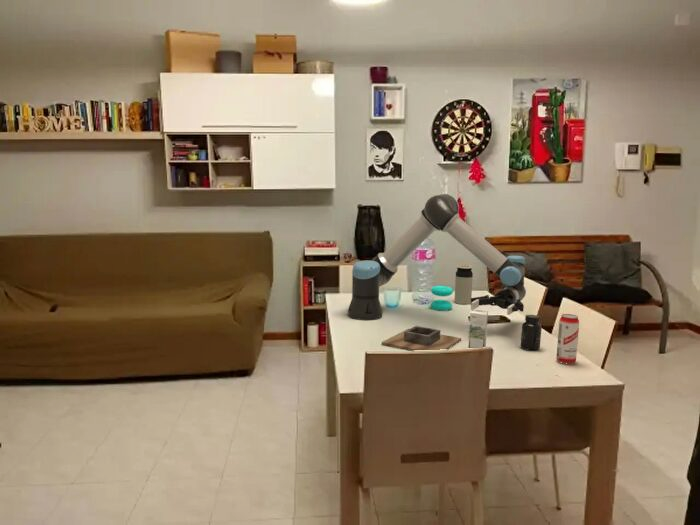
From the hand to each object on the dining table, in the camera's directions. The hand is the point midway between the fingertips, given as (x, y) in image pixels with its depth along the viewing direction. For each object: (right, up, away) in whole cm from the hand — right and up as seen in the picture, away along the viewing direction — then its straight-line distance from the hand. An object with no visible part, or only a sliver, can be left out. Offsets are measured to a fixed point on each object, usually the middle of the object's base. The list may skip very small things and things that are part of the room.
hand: (489, 308), depth 205 cm
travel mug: (+3, -3, +66) cm, 66 cm away
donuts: (-9, -5, +54) cm, 55 cm away
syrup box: (-6, -15, -6) cm, 17 cm away
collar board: (-25, -13, +2) cm, 28 cm away
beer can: (+22, -17, -17) cm, 32 cm away
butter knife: (+10, -17, -19) cm, 28 cm away
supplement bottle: (+14, -14, -2) cm, 20 cm away
